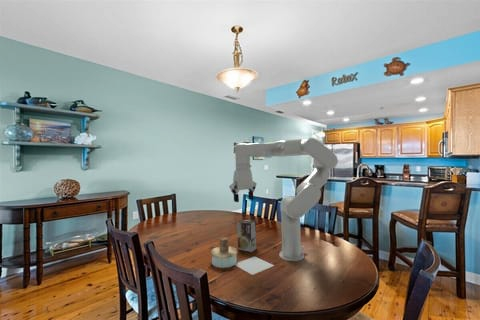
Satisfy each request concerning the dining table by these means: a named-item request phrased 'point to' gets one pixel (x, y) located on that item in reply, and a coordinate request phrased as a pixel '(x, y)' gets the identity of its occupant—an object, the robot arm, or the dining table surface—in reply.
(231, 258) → the bowl
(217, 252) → the lid
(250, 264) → the mat
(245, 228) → the coffee box
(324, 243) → the dining table surface
